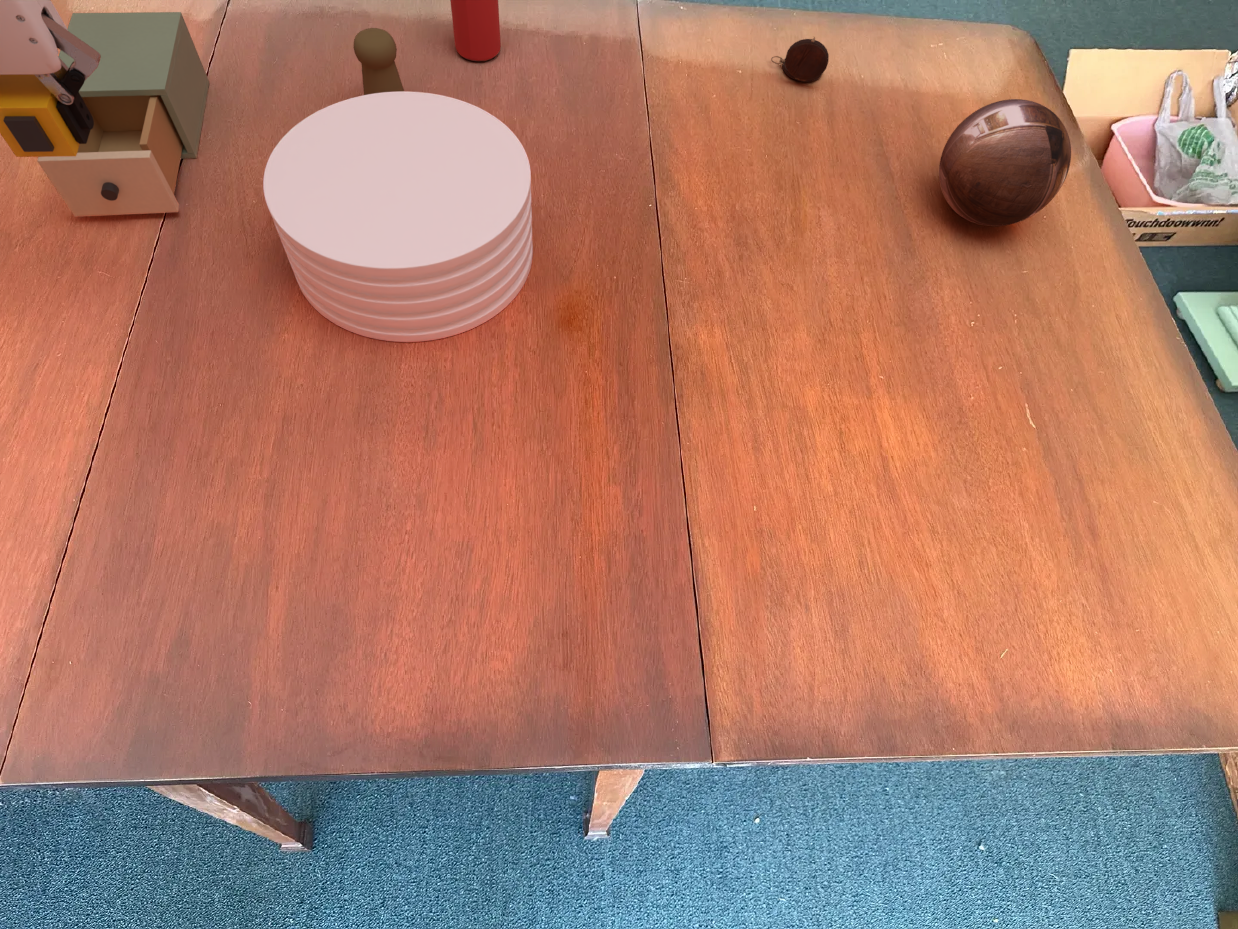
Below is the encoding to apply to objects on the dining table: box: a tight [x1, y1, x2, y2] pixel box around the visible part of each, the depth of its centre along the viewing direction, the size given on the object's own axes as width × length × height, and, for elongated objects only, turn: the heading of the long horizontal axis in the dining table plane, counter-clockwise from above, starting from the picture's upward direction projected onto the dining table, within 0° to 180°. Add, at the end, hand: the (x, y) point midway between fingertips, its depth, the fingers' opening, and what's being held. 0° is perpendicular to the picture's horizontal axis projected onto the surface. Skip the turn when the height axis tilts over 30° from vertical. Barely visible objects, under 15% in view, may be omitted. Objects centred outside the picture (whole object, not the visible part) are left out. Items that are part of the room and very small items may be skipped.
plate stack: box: [262, 90, 534, 343], centre depth 89 cm, size 28×28×12 cm
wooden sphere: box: [938, 98, 1072, 227], centre depth 99 cm, size 15×15×15 cm
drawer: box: [36, 95, 183, 218], centre depth 92 cm, size 16×11×8 cm
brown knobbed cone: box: [353, 27, 405, 95], centre depth 101 cm, size 6×6×11 cm
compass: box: [770, 36, 830, 83], centre depth 115 cm, size 8×8×7 cm
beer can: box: [449, 0, 502, 62], centre depth 109 cm, size 7×7×12 cm
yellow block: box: [0, 75, 80, 158], centre depth 70 cm, size 5×6×5 cm
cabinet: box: [58, 11, 210, 160], centre depth 97 cm, size 16×13×10 cm
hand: (50, 132), depth 72 cm, fingers closed on yellow block, 5 cm apart
